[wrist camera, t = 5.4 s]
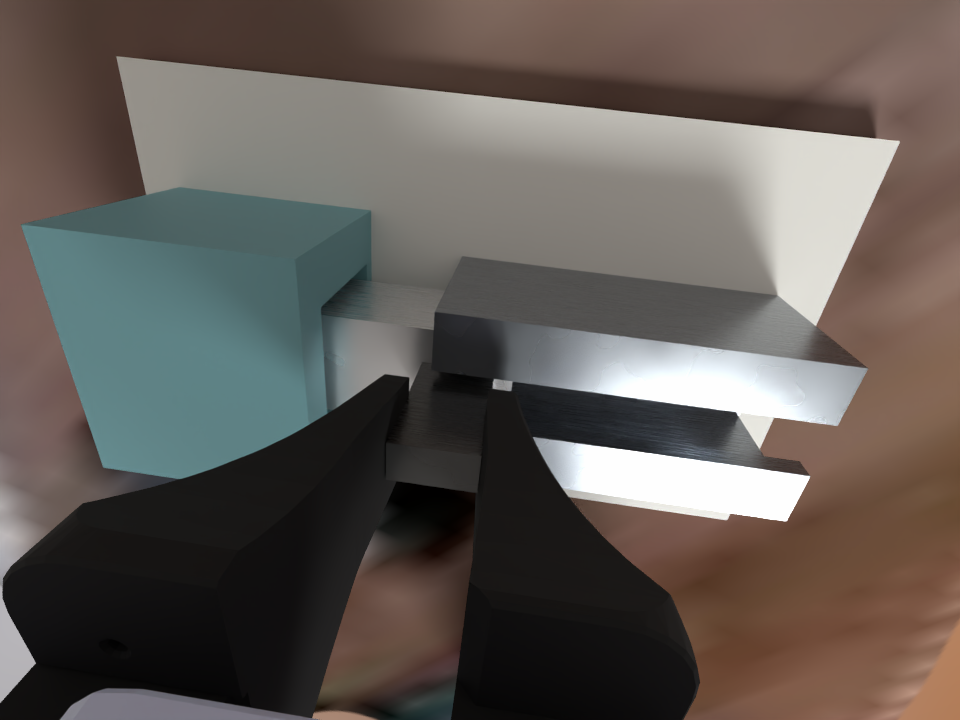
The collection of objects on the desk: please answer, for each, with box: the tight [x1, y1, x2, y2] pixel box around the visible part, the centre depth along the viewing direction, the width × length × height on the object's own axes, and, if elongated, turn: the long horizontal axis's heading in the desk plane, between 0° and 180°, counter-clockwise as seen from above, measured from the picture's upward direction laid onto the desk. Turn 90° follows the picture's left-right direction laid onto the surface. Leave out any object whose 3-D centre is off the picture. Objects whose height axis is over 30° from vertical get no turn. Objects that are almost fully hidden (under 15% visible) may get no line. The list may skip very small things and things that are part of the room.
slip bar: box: [321, 279, 513, 493], centre depth 13 cm, size 3×10×7 cm, turn 85°
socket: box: [21, 187, 372, 479], centre depth 15 cm, size 7×6×6 cm
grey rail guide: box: [431, 256, 868, 521], centre depth 15 cm, size 5×10×5 cm, turn 85°
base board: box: [116, 56, 900, 520], centre depth 17 cm, size 14×22×1 cm, turn 85°
